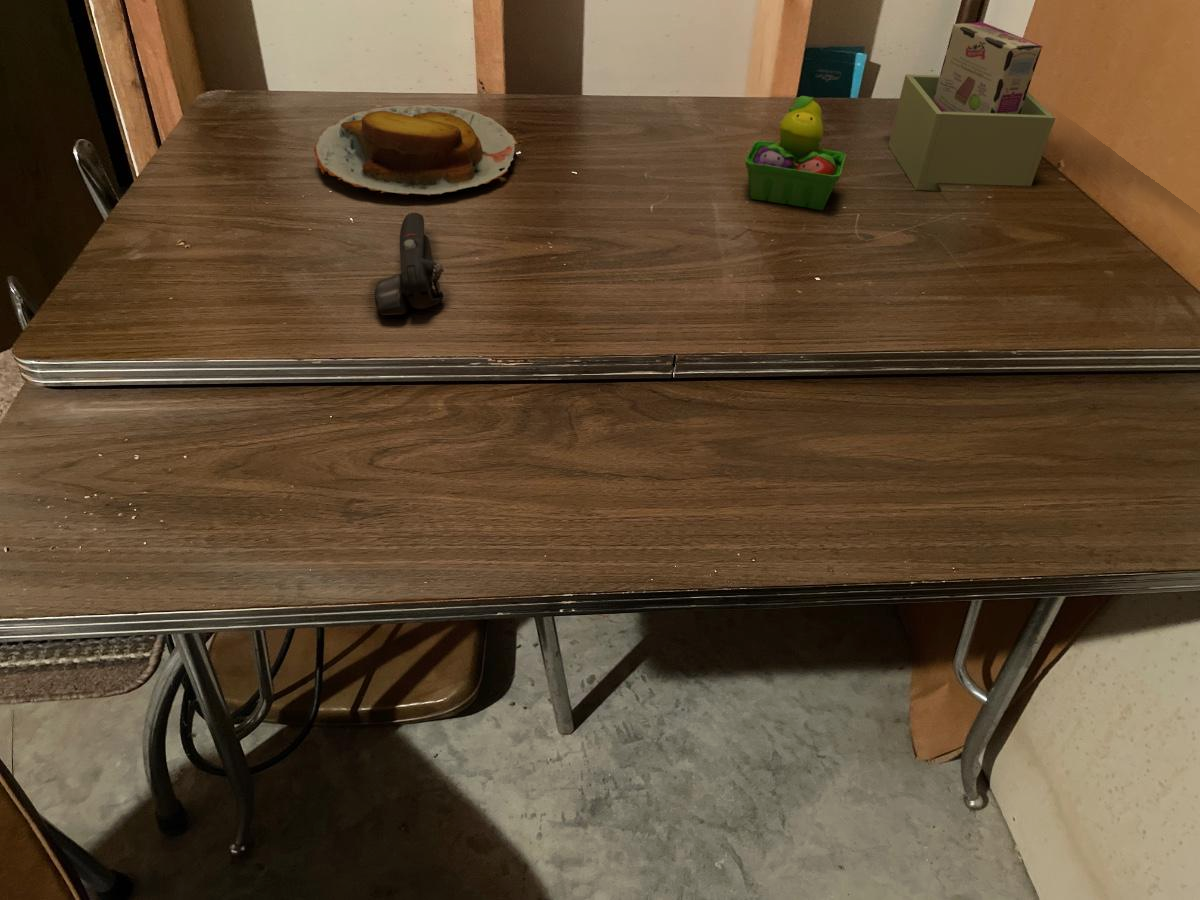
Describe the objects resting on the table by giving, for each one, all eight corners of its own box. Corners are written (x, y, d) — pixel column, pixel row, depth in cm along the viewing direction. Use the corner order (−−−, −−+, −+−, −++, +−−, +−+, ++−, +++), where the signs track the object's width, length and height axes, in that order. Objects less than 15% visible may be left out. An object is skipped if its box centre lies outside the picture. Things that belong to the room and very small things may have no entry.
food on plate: (513, 126, 128) (512, 78, 124) (523, 204, 110) (522, 150, 105) (328, 127, 125) (320, 78, 121) (305, 207, 107) (295, 152, 102)
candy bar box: (1001, 177, 119) (1045, 45, 108) (970, 182, 117) (1012, 48, 107) (947, 145, 127) (983, 19, 116) (917, 149, 125) (951, 22, 115)
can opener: (446, 325, 88) (442, 273, 85) (373, 327, 88) (365, 274, 84) (451, 240, 102) (448, 192, 98) (388, 240, 101) (382, 192, 98)
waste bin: (990, 149, 128) (1013, 78, 122) (1028, 194, 117) (1055, 117, 111) (887, 146, 128) (905, 74, 122) (915, 190, 117) (936, 113, 111)
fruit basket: (738, 201, 112) (751, 109, 105) (751, 174, 119) (764, 85, 112) (831, 217, 110) (851, 123, 103) (839, 188, 116) (859, 98, 109)
